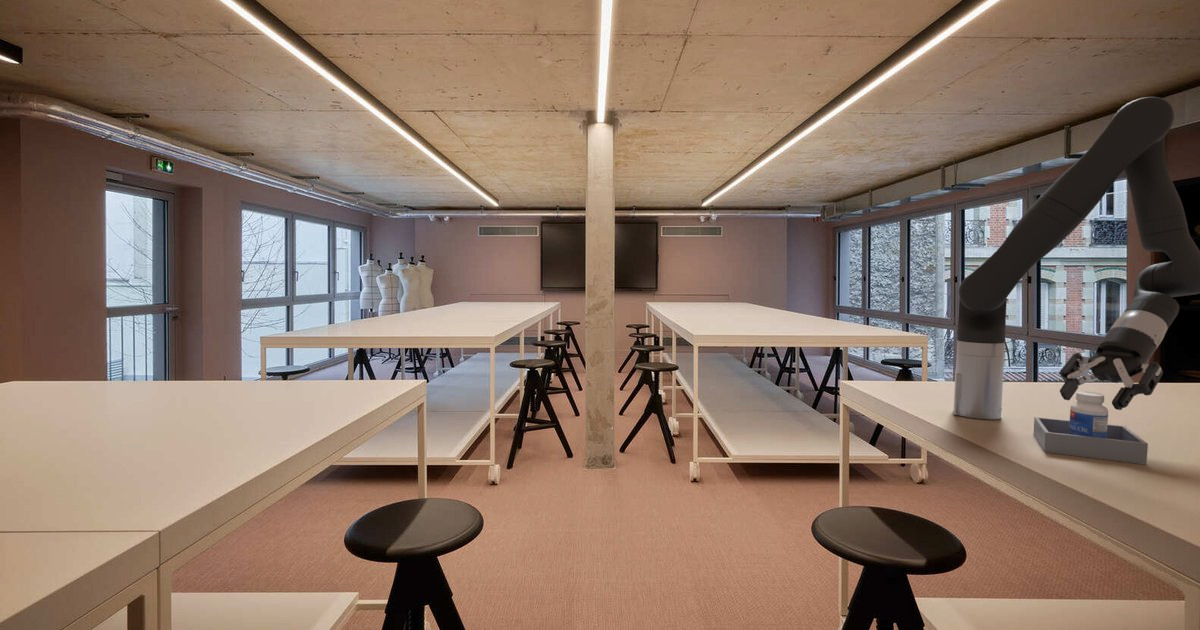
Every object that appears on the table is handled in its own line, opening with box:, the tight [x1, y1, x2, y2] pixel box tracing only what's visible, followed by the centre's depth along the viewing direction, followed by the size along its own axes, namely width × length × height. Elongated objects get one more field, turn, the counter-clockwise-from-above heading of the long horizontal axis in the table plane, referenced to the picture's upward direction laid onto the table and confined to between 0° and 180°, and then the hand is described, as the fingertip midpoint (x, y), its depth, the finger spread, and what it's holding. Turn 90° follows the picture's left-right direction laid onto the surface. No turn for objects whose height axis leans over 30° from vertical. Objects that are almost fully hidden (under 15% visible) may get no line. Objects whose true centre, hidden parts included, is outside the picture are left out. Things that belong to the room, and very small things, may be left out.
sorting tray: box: [1033, 416, 1149, 466], centre depth 109 cm, size 14×14×4 cm
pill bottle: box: [1069, 391, 1109, 439], centre depth 108 cm, size 6×5×10 cm
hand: (1089, 401), depth 109 cm, fingers open, 8 cm apart
